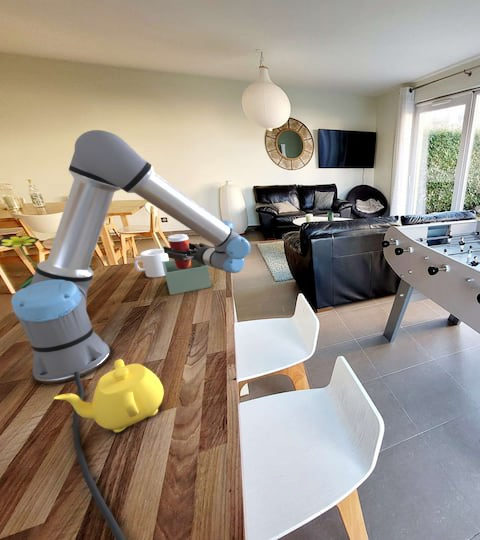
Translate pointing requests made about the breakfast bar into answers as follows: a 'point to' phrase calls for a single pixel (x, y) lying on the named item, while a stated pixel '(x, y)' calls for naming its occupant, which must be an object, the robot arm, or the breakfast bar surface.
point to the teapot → (121, 397)
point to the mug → (152, 262)
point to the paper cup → (180, 248)
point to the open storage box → (186, 277)
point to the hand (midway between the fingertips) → (174, 247)
